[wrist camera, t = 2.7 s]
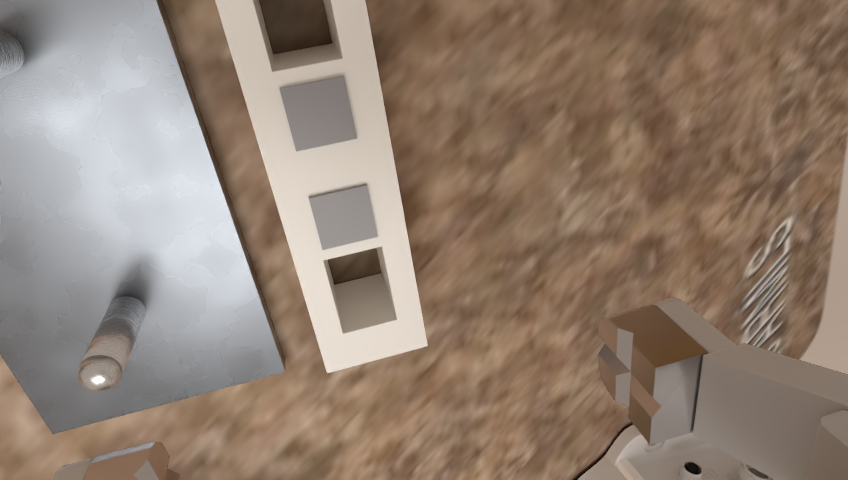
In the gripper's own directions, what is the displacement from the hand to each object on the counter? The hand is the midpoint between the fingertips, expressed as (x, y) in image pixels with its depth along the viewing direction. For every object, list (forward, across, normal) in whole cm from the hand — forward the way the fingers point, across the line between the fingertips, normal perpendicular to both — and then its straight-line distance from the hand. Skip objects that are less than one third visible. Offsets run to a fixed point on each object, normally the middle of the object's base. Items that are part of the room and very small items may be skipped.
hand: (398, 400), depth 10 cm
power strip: (+18, 0, 0) cm, 18 cm away
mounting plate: (+18, +11, 0) cm, 21 cm away
